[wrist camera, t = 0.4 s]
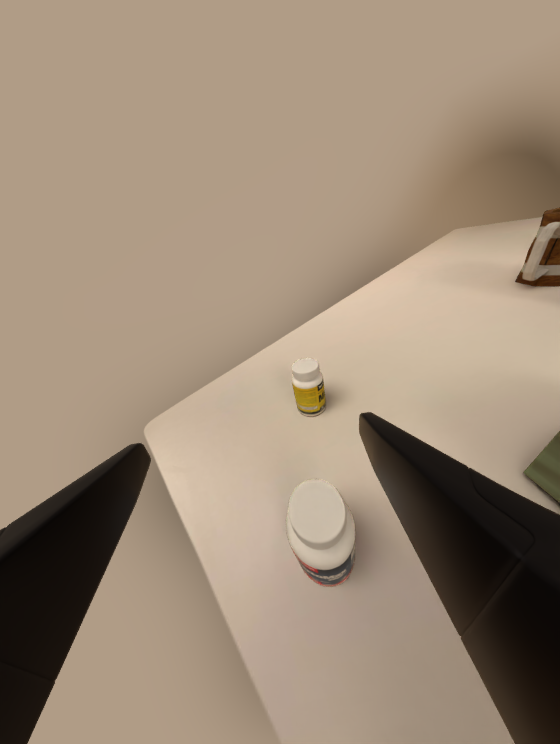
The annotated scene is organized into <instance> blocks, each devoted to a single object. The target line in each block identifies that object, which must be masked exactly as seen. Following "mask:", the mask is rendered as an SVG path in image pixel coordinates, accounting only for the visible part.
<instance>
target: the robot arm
mask: <svg viewBox="0 0 560 744" xmlns="http://www.w3.org/2000/svg"><path fill="white" fill-rule="evenodd" d="M359 433H360V436H361V439H362V441H363V444H364V446H365V449H366V451H367V454H368V457H369V459H370V462H371V464H372V467H373V469H374V471H375V473H376V476H377V478H378V479H379V481H380V483H381V485H382V487H383V489H384V491H385V493H386V495H387V497H388V499H389V501H390V503H391V505H392V506H393V508H394V510H395V512H396V514H397V516H398V518H399V520H400V522H401V524H402V526H403V528H404V530H405V532H406V534H407V535H408V537H409V539H410V541H411V543H412V545H413V547H414V549H415V551H416V553H417V555H418V557H419V559H420V561H421V562H422V564H423V566H424V568H425V570H426V572H427V574H428V576H429V578H430V580H431V582H432V584H433V586H434V588H435V590H436V591H437V593H438V595H439V597H440V599H441V601H442V603H443V605H444V607H445V609H446V611H447V613H448V615H449V617H450V618H451V620H452V622H453V624H454V626H455V628H456V630H457V632H458V634H459V635H460V636H461V640H462V642H463V644H464V646H465V648H466V650H467V652H468V654H469V656H470V657H471V659H472V661H473V663H474V665H475V667H476V669H477V671H478V673H479V675H480V677H481V679H482V681H483V683H484V685H485V686H486V688H487V690H488V692H489V694H490V696H491V698H492V700H493V702H494V704H495V706H496V708H497V710H498V712H499V714H500V715H501V717H502V719H503V721H504V723H505V725H506V727H507V729H508V731H509V733H510V735H511V737H512V739H513V741H514V743H515V744H560V515H559V514H557V513H555V512H553V511H551V510H549V509H547V508H545V507H543V506H541V505H539V504H537V503H535V502H533V501H531V500H529V499H527V498H525V497H523V496H521V495H519V494H517V493H515V492H513V491H511V490H509V489H507V488H506V487H504V486H502V485H500V484H498V483H496V482H495V481H493V480H491V479H489V478H487V477H485V476H484V475H482V474H480V473H478V472H476V471H475V470H473V469H471V468H469V469H468V467H467V466H466V465H464V464H462V463H460V462H459V461H457V460H455V459H453V458H451V457H450V456H448V455H446V454H444V453H443V452H441V451H439V450H437V449H435V448H434V447H432V446H430V445H428V444H427V443H425V442H423V441H421V440H419V439H418V438H416V437H414V436H412V435H411V434H409V433H407V432H405V431H403V430H402V429H400V428H398V427H396V426H395V425H393V424H391V423H389V422H387V421H386V420H384V419H382V418H380V417H379V416H377V415H375V414H373V413H371V412H367V413H361V414H360V418H359ZM150 462H151V458H150V455H149V454H148V452H147V450H146V449H145V447H144V445H143V444H141V443H137V444H131V445H129V446H127V447H126V448H124V449H123V450H121V451H120V452H118V453H117V454H115V455H114V456H112V457H111V458H109V459H108V460H106V461H105V462H103V463H101V464H100V465H98V466H97V467H95V468H94V469H92V470H91V471H90V472H88V473H86V474H85V475H83V476H82V477H80V478H79V479H77V480H76V481H74V482H73V483H71V484H70V485H68V486H67V487H65V488H64V489H62V490H61V491H59V492H58V493H56V494H55V495H53V496H52V497H50V498H48V499H47V500H46V501H44V502H43V503H41V504H40V505H38V506H36V507H35V508H33V509H32V510H30V511H29V512H27V513H26V514H24V515H23V516H21V517H20V518H18V519H17V520H15V521H14V522H12V523H11V524H9V525H8V526H7V527H6V528H3V529H1V530H0V744H27V743H28V741H29V739H30V737H31V734H32V732H33V730H34V728H35V725H36V723H37V721H38V719H39V717H40V714H41V712H42V710H43V708H44V706H45V703H46V701H47V699H48V697H49V695H50V692H51V690H52V688H53V686H54V684H55V680H56V679H57V676H58V674H59V672H60V670H61V668H62V665H63V663H64V661H65V659H66V657H67V654H68V652H69V650H70V648H71V646H72V643H73V641H74V639H75V637H76V635H77V632H78V630H79V628H80V626H81V623H82V621H83V619H84V617H85V614H86V613H87V610H88V608H89V606H90V603H91V601H92V599H93V597H94V595H95V593H96V590H97V588H98V586H99V584H100V582H101V579H102V577H103V575H104V573H105V571H106V568H107V566H108V564H109V562H110V560H111V557H112V555H113V553H114V551H115V549H116V546H117V544H118V542H119V540H120V537H121V535H122V533H123V531H124V529H125V526H126V524H127V522H128V520H129V518H130V515H131V513H132V511H133V509H134V507H135V504H136V502H137V499H138V496H139V494H140V491H141V488H142V486H143V482H144V480H145V477H146V474H147V471H148V468H149V466H150Z"/></svg>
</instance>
